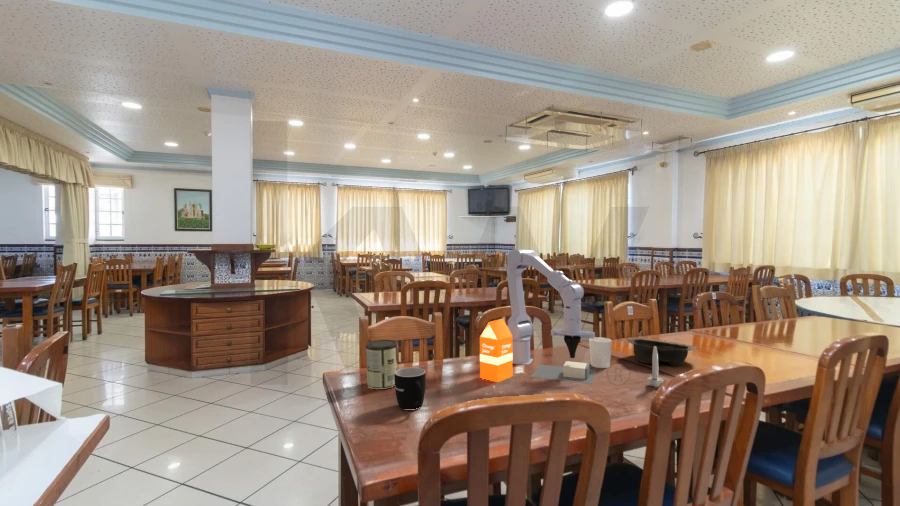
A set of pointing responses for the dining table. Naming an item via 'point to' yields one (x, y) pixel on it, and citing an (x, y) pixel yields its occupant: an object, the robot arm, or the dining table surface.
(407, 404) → the mug
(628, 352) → the dining table surface
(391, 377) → the coffee can
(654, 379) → the screw
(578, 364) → the beige rectangular block
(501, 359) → the orange juice
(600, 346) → the white cup
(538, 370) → the mat
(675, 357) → the stone bowl
